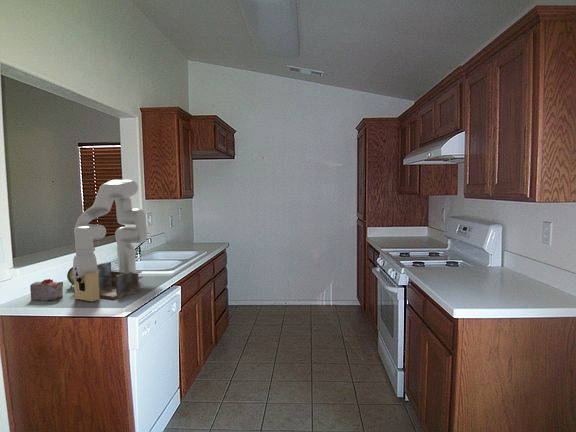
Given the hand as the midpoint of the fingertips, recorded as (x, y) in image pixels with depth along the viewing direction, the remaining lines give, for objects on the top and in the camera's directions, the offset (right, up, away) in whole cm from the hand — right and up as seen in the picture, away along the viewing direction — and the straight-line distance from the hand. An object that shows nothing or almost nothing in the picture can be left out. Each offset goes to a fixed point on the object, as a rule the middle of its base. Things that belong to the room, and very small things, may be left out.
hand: (86, 288), depth 177 cm
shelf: (+6, -5, +13) cm, 15 cm away
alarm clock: (-19, -4, +27) cm, 33 cm away
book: (0, -5, 0) cm, 5 cm away
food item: (-21, -6, +3) cm, 22 cm away
